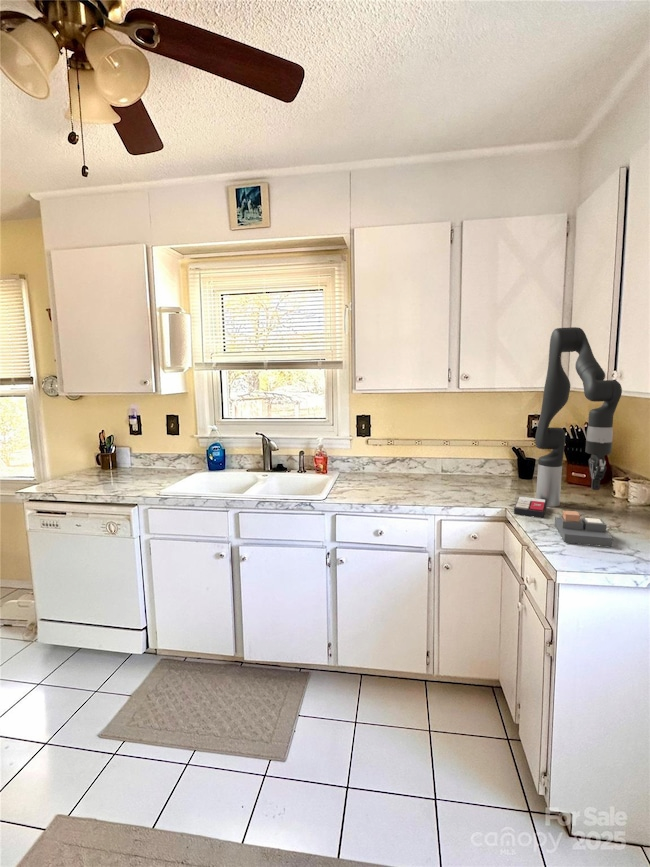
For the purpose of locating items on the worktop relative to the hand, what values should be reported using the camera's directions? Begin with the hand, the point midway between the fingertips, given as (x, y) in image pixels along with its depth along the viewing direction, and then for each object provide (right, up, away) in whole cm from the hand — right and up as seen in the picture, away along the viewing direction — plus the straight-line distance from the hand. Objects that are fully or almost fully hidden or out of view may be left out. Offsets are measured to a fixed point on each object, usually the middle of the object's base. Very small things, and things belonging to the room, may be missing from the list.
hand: (595, 489), depth 153 cm
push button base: (-3, -16, +3) cm, 17 cm away
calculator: (-8, -13, +31) cm, 34 cm away
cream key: (0, -13, +2) cm, 14 cm away
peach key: (-6, -11, +4) cm, 13 cm away
